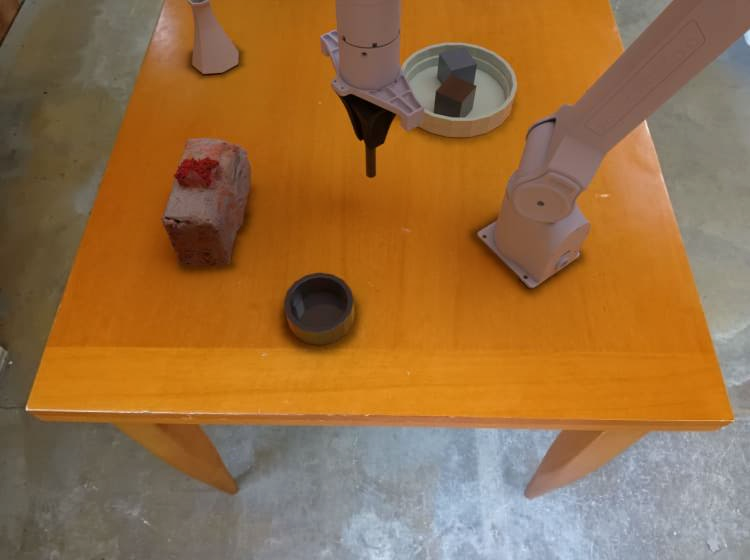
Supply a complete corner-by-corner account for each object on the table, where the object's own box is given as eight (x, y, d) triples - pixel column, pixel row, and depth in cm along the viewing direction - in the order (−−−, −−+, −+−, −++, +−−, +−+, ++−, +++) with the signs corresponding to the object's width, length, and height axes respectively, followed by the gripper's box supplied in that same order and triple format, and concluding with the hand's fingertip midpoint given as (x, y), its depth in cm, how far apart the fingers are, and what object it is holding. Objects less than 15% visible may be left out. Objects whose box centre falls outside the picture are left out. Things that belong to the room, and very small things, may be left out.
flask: (186, 52, 87) (165, -11, 79) (231, 39, 89) (216, -24, 80) (199, 80, 84) (179, 18, 75) (246, 67, 85) (231, 4, 77)
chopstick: (378, 175, 67) (378, 116, 59) (369, 179, 67) (368, 120, 59) (372, 168, 68) (371, 109, 60) (363, 173, 67) (362, 114, 60)
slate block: (473, 87, 82) (477, 63, 78) (448, 94, 81) (451, 70, 78) (461, 70, 84) (465, 46, 80) (436, 76, 83) (439, 53, 80)
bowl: (535, 108, 80) (541, 88, 77) (446, 157, 75) (449, 138, 72) (461, 49, 87) (464, 28, 84) (375, 91, 82) (375, 70, 79)
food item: (197, 179, 73) (174, 120, 65) (259, 180, 73) (243, 121, 65) (174, 267, 66) (145, 214, 58) (243, 269, 66) (223, 216, 58)
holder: (367, 323, 62) (366, 308, 59) (311, 359, 60) (307, 345, 57) (330, 278, 65) (328, 261, 62) (276, 310, 63) (271, 294, 60)
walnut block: (472, 109, 79) (476, 85, 76) (458, 125, 78) (461, 102, 74) (447, 98, 81) (450, 74, 77) (433, 114, 79) (435, 91, 76)
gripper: (288, 5, 53) (304, 118, 64) (381, 89, 47) (380, 197, 58) (350, -21, 55) (355, 93, 67) (447, 56, 49) (434, 167, 60)
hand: (370, 140), depth 63 cm, fingers closed on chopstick, 1 cm apart
